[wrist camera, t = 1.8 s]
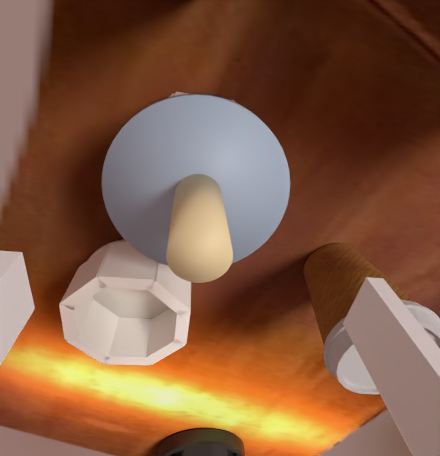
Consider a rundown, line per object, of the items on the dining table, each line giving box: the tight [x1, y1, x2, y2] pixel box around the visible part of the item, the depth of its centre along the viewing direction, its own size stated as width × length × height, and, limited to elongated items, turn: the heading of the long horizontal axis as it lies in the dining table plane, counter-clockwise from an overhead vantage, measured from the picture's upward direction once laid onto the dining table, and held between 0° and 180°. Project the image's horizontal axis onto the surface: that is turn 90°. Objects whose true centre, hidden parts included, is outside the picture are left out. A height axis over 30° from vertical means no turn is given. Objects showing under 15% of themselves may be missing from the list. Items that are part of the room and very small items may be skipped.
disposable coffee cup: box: [303, 243, 440, 394], centre depth 29 cm, size 10×10×12 cm
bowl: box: [59, 239, 191, 365], centre depth 30 cm, size 11×11×6 cm
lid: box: [102, 94, 290, 283], centre depth 18 cm, size 13×13×8 cm
